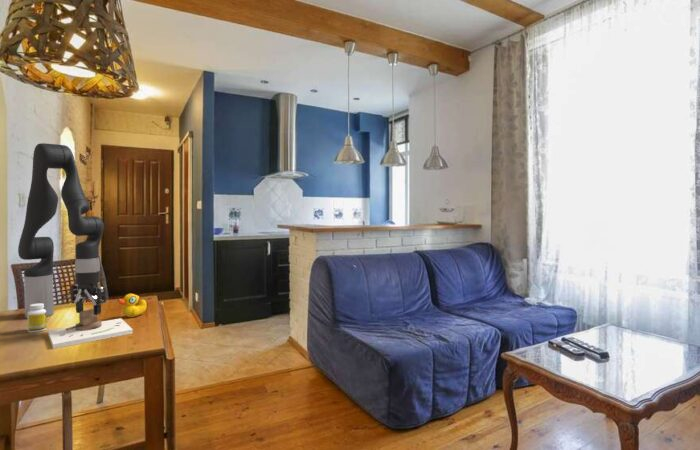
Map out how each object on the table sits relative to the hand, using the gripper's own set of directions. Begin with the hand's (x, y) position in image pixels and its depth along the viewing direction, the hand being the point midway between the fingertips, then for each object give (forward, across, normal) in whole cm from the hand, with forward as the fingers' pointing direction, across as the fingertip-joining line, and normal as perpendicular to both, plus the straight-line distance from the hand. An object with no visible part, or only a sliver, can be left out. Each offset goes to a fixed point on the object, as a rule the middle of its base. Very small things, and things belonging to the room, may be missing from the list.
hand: (88, 313), depth 138 cm
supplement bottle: (+7, -18, -6) cm, 20 cm away
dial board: (+7, +3, -2) cm, 8 cm away
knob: (+5, 0, -2) cm, 5 cm away
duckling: (+7, 0, +20) cm, 21 cm away
